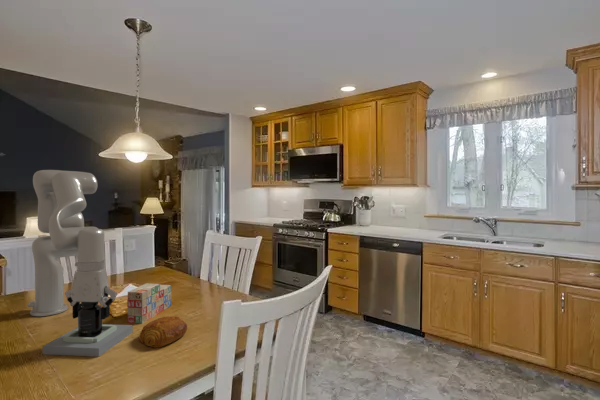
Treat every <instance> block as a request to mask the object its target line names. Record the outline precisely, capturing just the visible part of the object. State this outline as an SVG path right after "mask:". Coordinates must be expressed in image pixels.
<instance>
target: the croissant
mask: <svg viewBox="0 0 600 400" xmlns="http://www.w3.org/2000/svg"><path fill="white" fill-rule="evenodd" d="M187 330H188V324H187V323H186V321H185V320H183V319H182V318H180V317H178V316H169V315H168V316H163V317H160V318H157V319H154V320H152V321H150V322H147V324H145V325H144V326H143V327H142V329H141V331H140V333H139V342H140V343H141V344H143V345H145V346H147V347H148V346H149V347H152V348H162V347H165V346H167V345H169V344H171V343H174V342H175V341H177V340H179V339H180V338H182V337H183V336H184V335H185V334H186V333H187Z"/></svg>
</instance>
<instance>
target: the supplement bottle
mask: <svg viewBox="0 0 600 400" xmlns="http://www.w3.org/2000/svg"><path fill="white" fill-rule="evenodd" d="M80 304H81V306H82V307H81V308H80V309H79V310H78V317H77V327H78V336H79V337H95V336H98V335H99V334H101V332H102V324H103V319H101V308H102V307H103V306H102V305H101V304H100V302H80Z"/></svg>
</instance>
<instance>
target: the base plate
mask: <svg viewBox="0 0 600 400" xmlns="http://www.w3.org/2000/svg"><path fill="white" fill-rule="evenodd" d="M133 329H134V328H133V324H111V323H109V324H106V323H104V324H103V323H102V332H101V334H99V335H98V336H95V337H79V336H78V326H77V327H75V328H73V329H72V330H70V331H68V332H66V333H64V334H63V335H61V336H59V337H56V338H55V339H54V340H52V341H50V342H48V343H46V344H44V345H43V346H42V355H51V356H52V355H53V356H77V357H79V356H80V357H100V356H102V355H103V354H105V353H106V352H107V351H109V350H110V349H112V348H113V347H114V346H116V345H117V344H119V343H120V342H121V341H123V339H126V338H127V337H128V336H129V335H131V334H133Z"/></svg>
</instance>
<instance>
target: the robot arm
mask: <svg viewBox="0 0 600 400" xmlns="http://www.w3.org/2000/svg"><path fill="white" fill-rule="evenodd" d="M32 185H33V189H34V192H35V194H36V197H37V228H38V231H39V232H41V233H44V234H49V235H45V236H40V237H37V238H36V239H35V240H33V242H32V244H31V251H32V254H33V255H32V256H33V261H34V263H33V264H34V300H30V301H29V303H27V304H26V305H27V306H26V307H29V308H30V307H31V308H32V309H31V310H30V311H29V315H30V316H32V317H47V316H49V317H50V316H53V315H58V314H61V313H63V312H64V313H65V312H66V311H67V310H68V309H69V305H68V304H66V303H64V294H65V296H66V299H67V302H68V303H69V304H70V307H72V319H78V310H79V309H80V308H81V307H82V306H81V302H99V304H100V306H101V307H102V308H101V319H102V320H105V319H107V318H109V316H110V312H111V311H110V309H111V308H110V306H111V305H112V303H114V301H115V299H116V297H117V295H118V292H116V291H115V290H113V289H111V288H109V278H108V273H107V269H106V268H105V232H104V230H103V229H101V228H98V227H96V226H85V219H84V215H83V213H82V212H83V211H85V209H86V208H87V201H86V198H85V195H93V194H95V193H96V192H97V189H98V179H97V177H96V176H95V175H94V174H93V173H91V172H86V171H76V170H60V169H42V170H41V169H40V170H37V171H36V172H34V174H33V176H32ZM75 256H77V262H75V263H74V266H75V267H77V270H75V271H74V274H73V279H72V283H71V285H72V286H71V289H69V290H67V291H65V292H64V267H63V265H62V264H61V263H60V262H59V261H57V259H59V258H69V257H75Z"/></svg>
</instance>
